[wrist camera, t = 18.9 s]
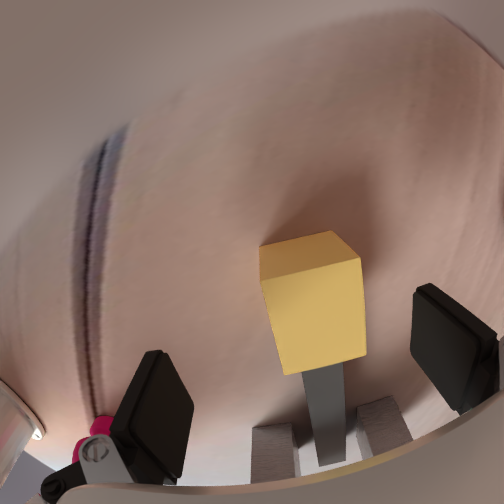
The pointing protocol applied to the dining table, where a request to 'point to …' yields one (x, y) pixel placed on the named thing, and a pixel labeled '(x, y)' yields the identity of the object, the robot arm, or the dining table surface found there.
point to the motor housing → (286, 451)
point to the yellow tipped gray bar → (317, 325)
